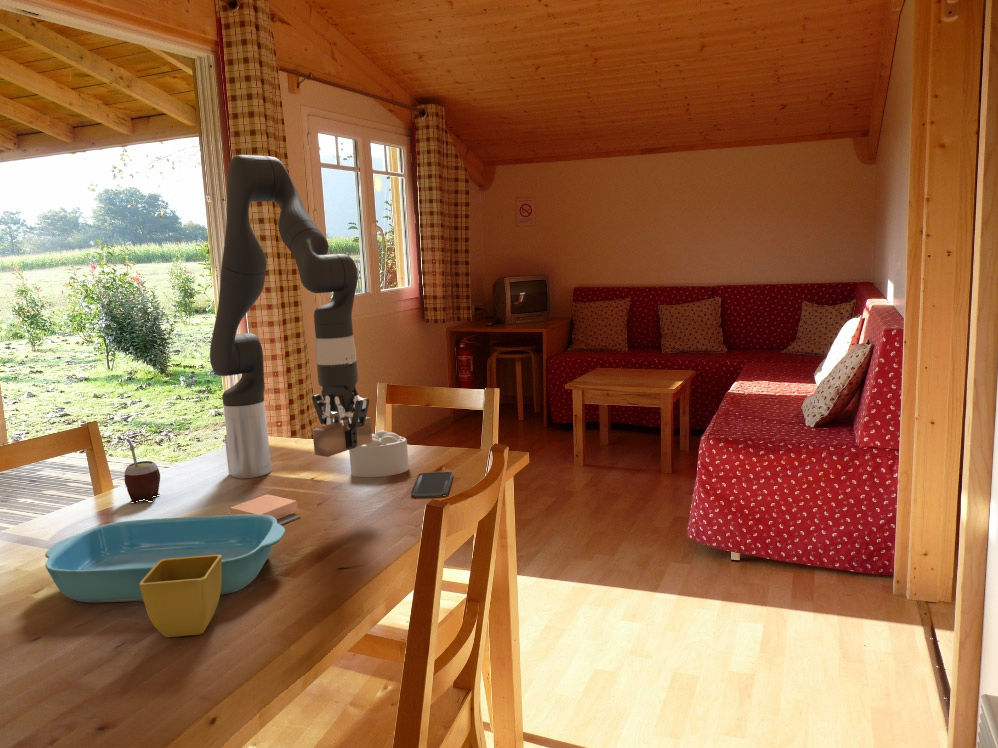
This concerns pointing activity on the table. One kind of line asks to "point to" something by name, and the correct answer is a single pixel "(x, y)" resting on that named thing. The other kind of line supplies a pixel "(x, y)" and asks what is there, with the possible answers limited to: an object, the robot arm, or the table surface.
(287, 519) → the mat
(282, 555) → the table surface
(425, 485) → the phone
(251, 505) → the tile
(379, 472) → the lumpy-topped squat cylinder
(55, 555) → the casserole dish
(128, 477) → the mate gourd
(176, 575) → the flower pot
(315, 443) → the bar
